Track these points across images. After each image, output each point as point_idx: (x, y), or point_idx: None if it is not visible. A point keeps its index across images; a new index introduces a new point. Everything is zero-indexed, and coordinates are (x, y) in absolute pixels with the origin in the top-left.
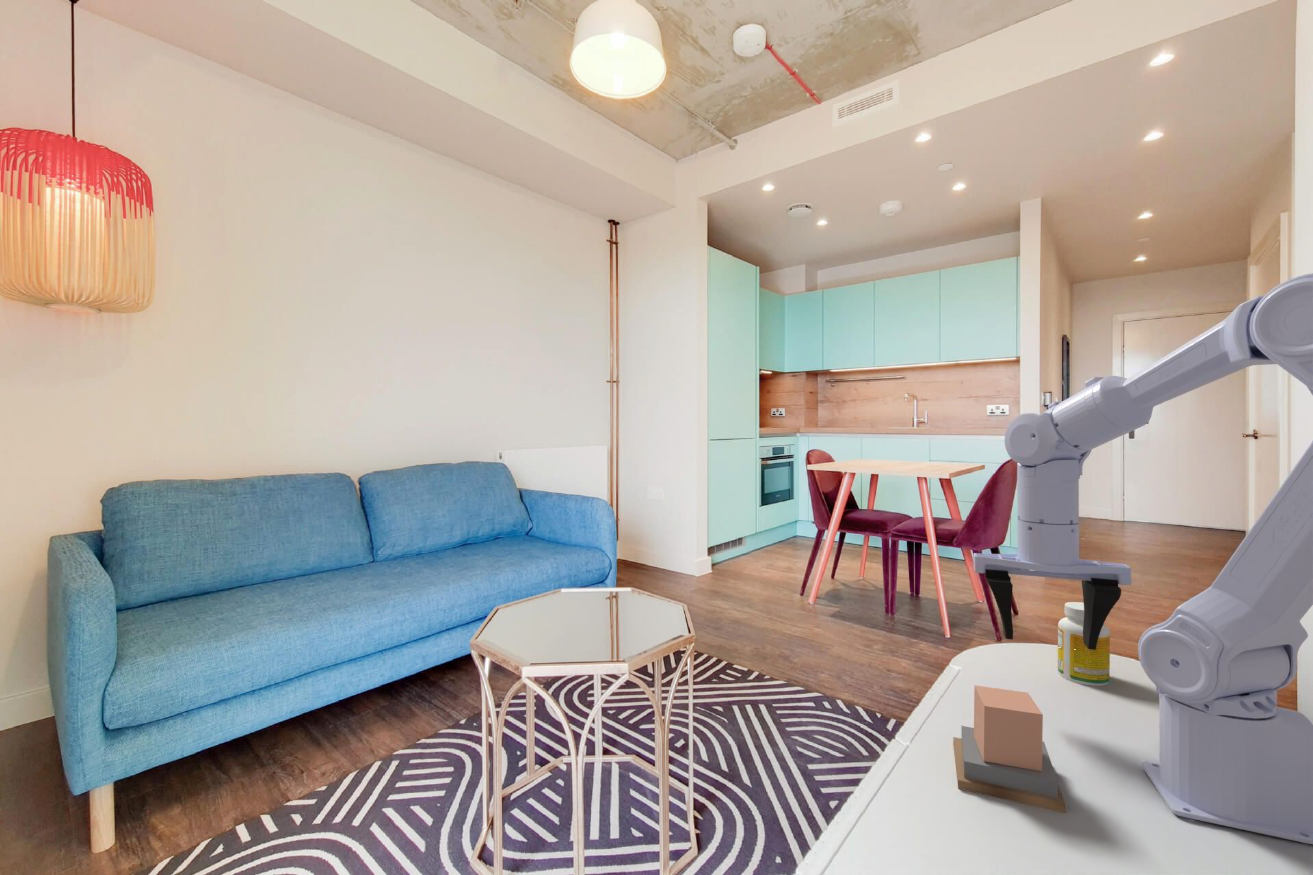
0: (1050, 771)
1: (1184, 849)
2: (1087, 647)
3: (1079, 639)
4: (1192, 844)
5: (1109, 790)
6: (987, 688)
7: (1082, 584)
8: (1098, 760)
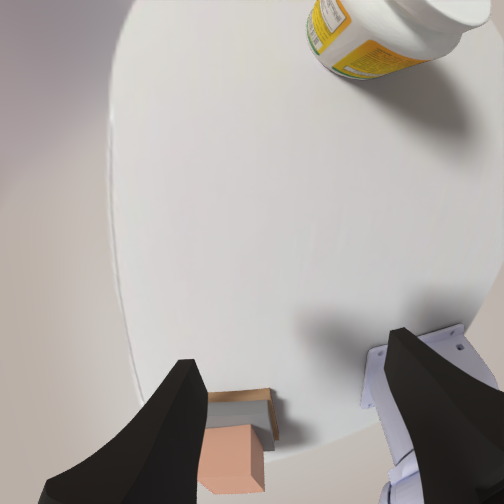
0: (270, 443)
1: (347, 428)
2: (385, 362)
3: (390, 56)
4: (355, 422)
5: (320, 399)
6: (207, 479)
7: (494, 453)
8: (325, 358)
